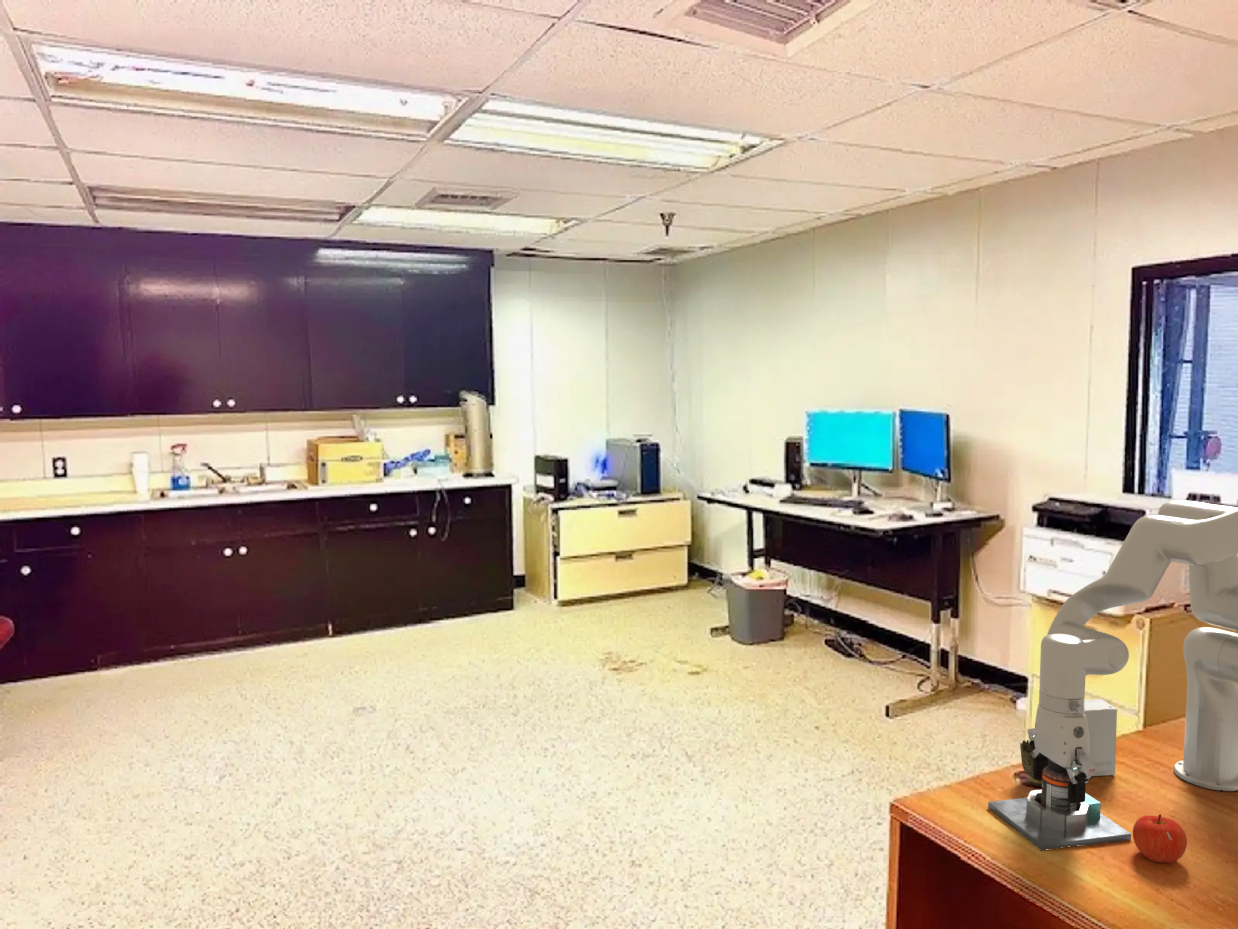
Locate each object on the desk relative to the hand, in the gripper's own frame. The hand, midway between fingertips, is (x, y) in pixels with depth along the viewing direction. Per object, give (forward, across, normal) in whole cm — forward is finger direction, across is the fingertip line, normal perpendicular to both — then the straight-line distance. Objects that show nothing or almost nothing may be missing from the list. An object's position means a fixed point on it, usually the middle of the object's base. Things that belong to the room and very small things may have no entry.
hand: (1058, 790), depth 164 cm
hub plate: (+6, 0, 0) cm, 7 cm away
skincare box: (+7, +18, -21) cm, 28 cm away
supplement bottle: (+6, 0, 0) cm, 6 cm away
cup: (+7, +15, -7) cm, 18 cm away
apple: (+7, -14, -9) cm, 18 cm away
